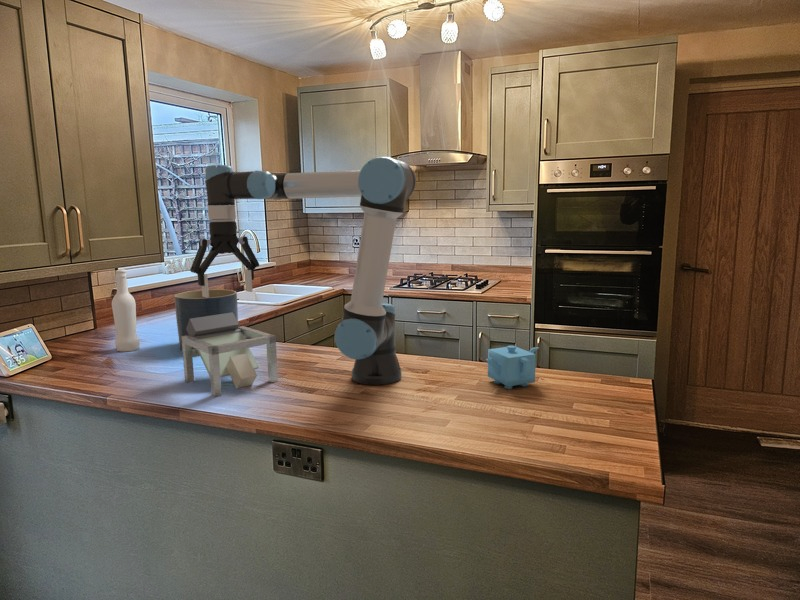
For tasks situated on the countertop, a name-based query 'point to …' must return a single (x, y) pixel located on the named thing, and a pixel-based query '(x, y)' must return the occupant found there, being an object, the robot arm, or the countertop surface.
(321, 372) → the countertop surface
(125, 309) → the bottle
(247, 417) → the countertop surface
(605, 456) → the countertop surface
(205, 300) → the planter
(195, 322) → the trapdoor
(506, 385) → the teapot
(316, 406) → the countertop surface
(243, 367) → the cream rectangular block
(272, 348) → the frame
